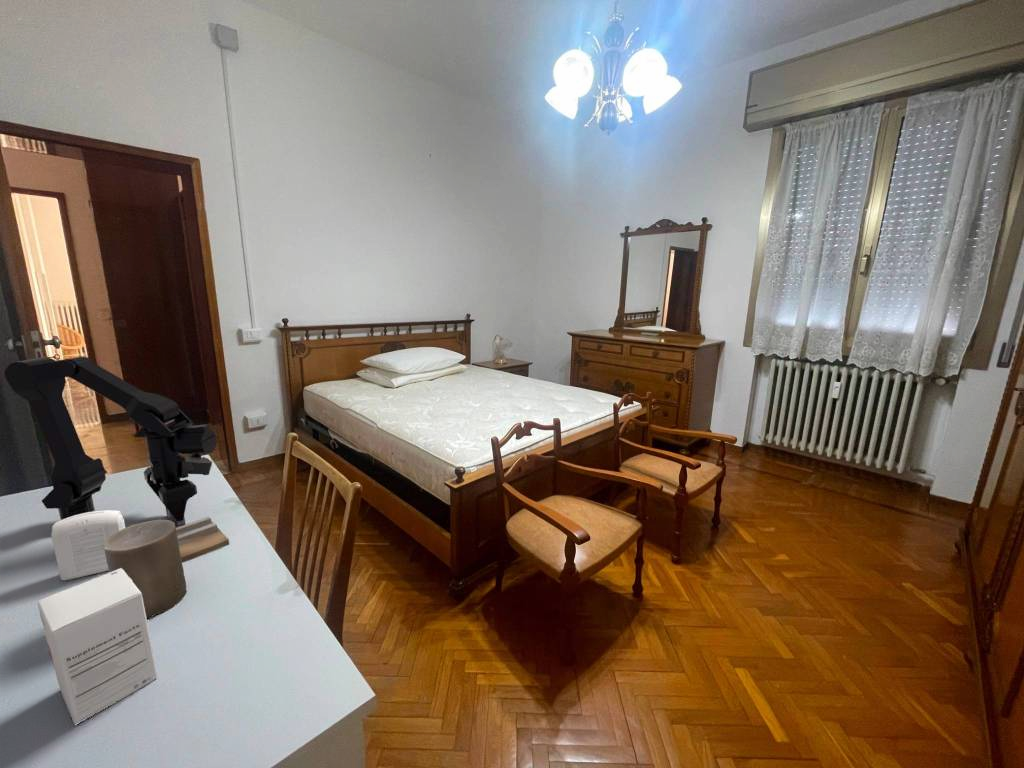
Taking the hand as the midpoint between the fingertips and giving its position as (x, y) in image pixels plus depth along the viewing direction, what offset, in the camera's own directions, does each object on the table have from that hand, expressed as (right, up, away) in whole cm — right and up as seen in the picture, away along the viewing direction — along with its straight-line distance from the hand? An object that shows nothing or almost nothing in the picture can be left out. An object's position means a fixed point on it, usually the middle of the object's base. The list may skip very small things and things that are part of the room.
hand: (174, 513), depth 101 cm
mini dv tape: (0, -2, +1) cm, 2 cm away
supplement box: (+23, -12, -41) cm, 48 cm away
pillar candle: (+16, -8, -25) cm, 31 cm away
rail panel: (+9, -4, -8) cm, 13 cm away
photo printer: (-2, -6, -17) cm, 18 cm away
